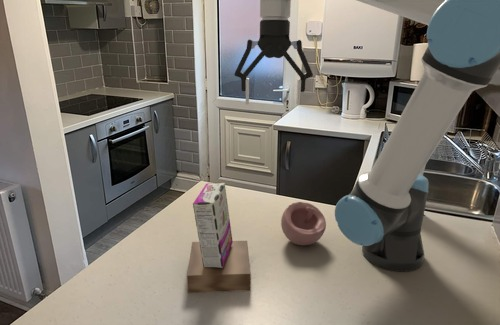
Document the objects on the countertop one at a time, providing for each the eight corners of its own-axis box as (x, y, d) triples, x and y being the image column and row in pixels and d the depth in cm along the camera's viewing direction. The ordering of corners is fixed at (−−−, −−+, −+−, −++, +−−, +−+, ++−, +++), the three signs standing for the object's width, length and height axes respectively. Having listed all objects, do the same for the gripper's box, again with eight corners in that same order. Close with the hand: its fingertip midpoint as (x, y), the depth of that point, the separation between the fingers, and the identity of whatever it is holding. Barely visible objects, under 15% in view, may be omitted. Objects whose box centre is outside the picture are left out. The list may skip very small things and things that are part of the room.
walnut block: (247, 257, 99) (247, 240, 98) (250, 292, 86) (250, 273, 84) (192, 258, 98) (192, 241, 97) (188, 294, 85) (187, 275, 84)
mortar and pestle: (296, 258, 98) (298, 218, 94) (272, 237, 108) (273, 200, 104) (333, 247, 103) (336, 209, 99) (307, 227, 113) (309, 192, 110)
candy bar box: (213, 242, 96) (205, 182, 91) (233, 242, 96) (226, 182, 90) (201, 268, 86) (191, 202, 81) (223, 269, 85) (214, 202, 80)
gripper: (323, 19, 98) (317, 101, 105) (226, 19, 99) (227, 100, 106) (327, 19, 91) (321, 107, 98) (223, 18, 92) (224, 105, 99)
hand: (272, 104), depth 102 cm, fingers open, 13 cm apart
